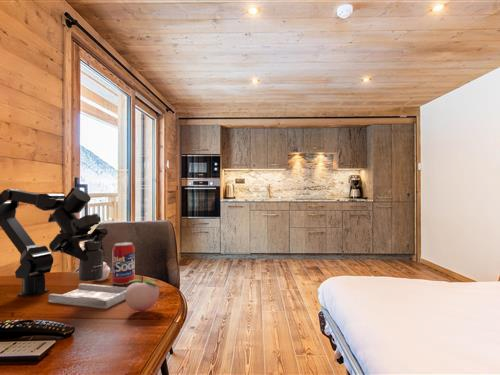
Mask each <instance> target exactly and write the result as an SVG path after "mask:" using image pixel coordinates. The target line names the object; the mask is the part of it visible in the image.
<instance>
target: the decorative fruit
mask: <svg viewBox="0 0 500 375" xmlns="http://www.w3.org/2000/svg"><path fill="white" fill-rule="evenodd" d="M129 283H130V284H129ZM127 285H128V286H127V287H128V288H127V290H126V293H125V302H126V304H127V306H128V307H129V308H130V309H132V310H134V311H137V312H140V313H144V312H146V311H148V310H149V309H151V308H152V307H153V306H155V304H156V303H157V301H158V299H159V296H160V289H159V285H158V283H157V282H156V281H154V280H151V279H146V280H144V277H143V276H141V279H139V278H138V279H134V280H132V281H129V282H128V284H127Z"/></svg>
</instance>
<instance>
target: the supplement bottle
mask: <svg viewBox="0 0 500 375" xmlns="http://www.w3.org/2000/svg"><path fill="white" fill-rule="evenodd" d="M100 247H101V241H83V248H84V249H82V250H83V252H84V253H85V255H86V256H87V258H88V260H87V261H86V262H84V261H82V260H80V259H78V260H79V263H78V276H77V277H78V278H77V279H78V280H79V281H80V282H94V281H100V280H99V279H101V278H102V275H103V262H104V257H105V255H104V253H105V251H104V252H103V250H101V249H100Z"/></svg>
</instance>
